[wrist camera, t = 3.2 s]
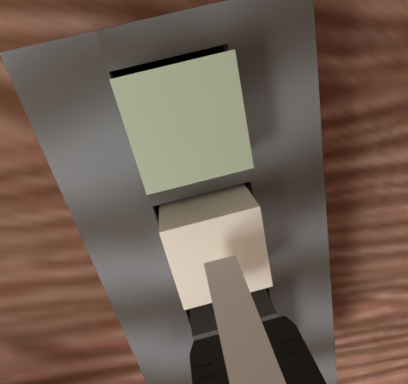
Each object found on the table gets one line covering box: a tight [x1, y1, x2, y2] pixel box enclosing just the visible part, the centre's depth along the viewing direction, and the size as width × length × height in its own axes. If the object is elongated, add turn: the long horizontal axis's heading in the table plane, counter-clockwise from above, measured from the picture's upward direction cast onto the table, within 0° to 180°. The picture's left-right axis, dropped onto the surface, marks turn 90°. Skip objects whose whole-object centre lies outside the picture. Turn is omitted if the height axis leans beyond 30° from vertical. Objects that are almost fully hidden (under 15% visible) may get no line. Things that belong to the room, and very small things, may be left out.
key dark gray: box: [189, 289, 278, 341], centre depth 20 cm, size 5×5×4 cm
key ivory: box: [159, 183, 273, 310], centre depth 17 cm, size 5×5×4 cm
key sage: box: [109, 49, 254, 195], centre depth 15 cm, size 5×5×4 cm
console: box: [0, 0, 337, 384], centre depth 22 cm, size 30×14×6 cm, turn 12°
